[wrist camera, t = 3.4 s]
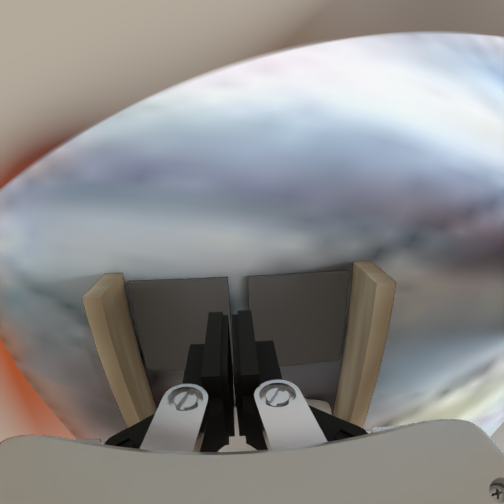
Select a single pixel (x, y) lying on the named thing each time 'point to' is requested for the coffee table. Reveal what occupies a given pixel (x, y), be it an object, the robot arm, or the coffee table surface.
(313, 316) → the mats
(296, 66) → the coffee table surface
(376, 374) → the lane
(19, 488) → the robot arm
